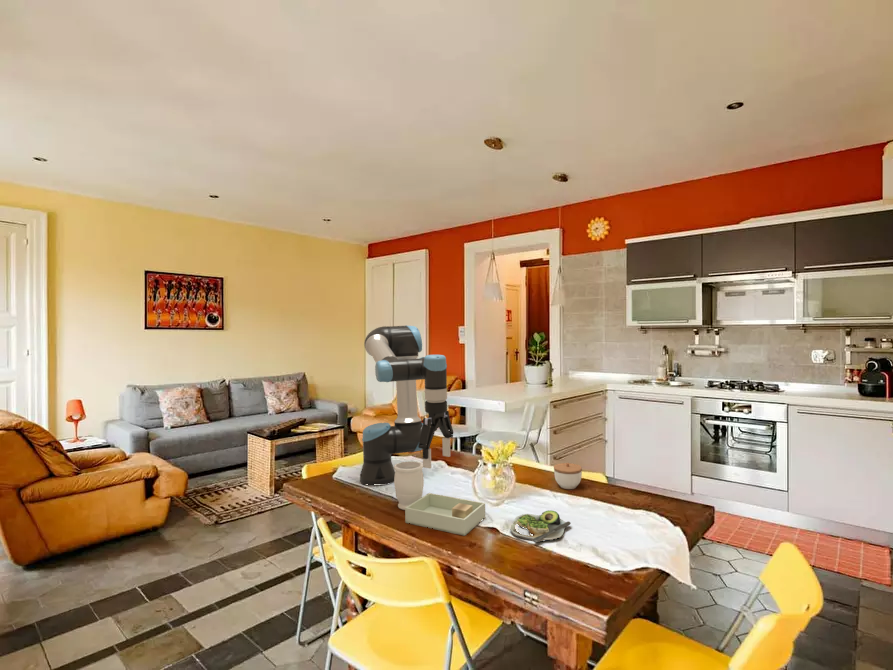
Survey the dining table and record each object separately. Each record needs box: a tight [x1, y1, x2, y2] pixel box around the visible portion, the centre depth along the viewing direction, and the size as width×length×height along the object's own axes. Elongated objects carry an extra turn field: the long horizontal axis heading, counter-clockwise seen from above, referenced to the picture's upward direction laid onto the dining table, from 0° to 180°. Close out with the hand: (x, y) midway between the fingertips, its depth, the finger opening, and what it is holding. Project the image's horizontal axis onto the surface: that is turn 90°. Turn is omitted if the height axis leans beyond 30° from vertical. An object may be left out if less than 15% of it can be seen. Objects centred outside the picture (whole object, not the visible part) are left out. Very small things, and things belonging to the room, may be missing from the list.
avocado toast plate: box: [509, 509, 572, 543], centre depth 154 cm, size 19×18×5 cm
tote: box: [404, 492, 486, 537], centre depth 164 cm, size 15×22×5 cm
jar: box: [393, 461, 425, 511], centre depth 177 cm, size 11×10×15 cm
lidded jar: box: [553, 462, 583, 490], centre depth 193 cm, size 11×11×9 cm
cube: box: [452, 503, 473, 519], centre depth 161 cm, size 5×5×5 cm
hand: (437, 461), depth 168 cm, fingers open, 13 cm apart
